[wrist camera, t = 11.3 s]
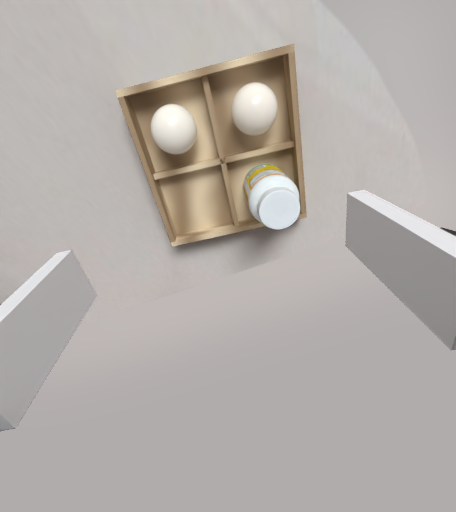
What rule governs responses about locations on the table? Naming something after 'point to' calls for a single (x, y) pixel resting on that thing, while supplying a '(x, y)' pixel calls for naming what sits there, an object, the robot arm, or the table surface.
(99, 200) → the table surface
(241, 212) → the wooden compartment tray
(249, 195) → the supplement bottle
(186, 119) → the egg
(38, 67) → the table surface
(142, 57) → the table surface
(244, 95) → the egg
